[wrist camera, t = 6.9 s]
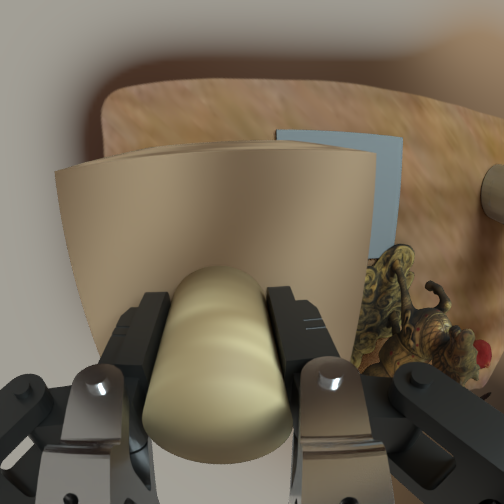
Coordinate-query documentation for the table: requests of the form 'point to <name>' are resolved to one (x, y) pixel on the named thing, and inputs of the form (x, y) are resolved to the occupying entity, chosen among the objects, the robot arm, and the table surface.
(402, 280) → the figurine
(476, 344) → the onion
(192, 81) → the table surface
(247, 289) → the cover
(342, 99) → the table surface
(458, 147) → the table surface
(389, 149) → the mat
